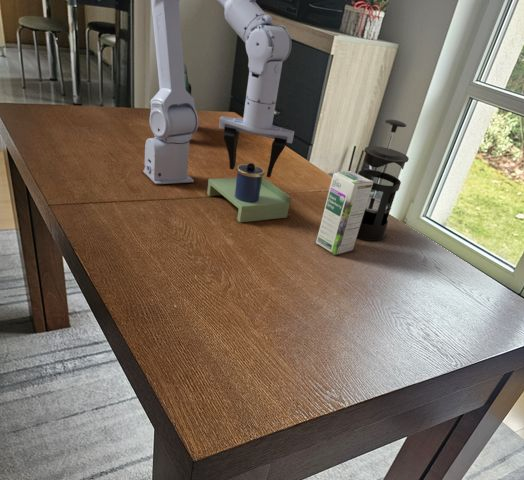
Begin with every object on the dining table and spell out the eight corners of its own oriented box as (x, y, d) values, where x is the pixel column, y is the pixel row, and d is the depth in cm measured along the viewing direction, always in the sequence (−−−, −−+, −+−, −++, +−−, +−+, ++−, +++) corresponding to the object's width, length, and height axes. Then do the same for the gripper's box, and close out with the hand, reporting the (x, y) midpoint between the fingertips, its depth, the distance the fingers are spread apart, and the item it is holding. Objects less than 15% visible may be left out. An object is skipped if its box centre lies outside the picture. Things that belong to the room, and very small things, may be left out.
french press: (393, 243, 109) (431, 131, 95) (354, 242, 106) (388, 127, 92) (369, 219, 117) (401, 114, 103) (332, 218, 114) (360, 109, 100)
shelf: (239, 222, 104) (242, 200, 102) (206, 194, 114) (208, 173, 111) (286, 217, 110) (291, 196, 108) (252, 191, 120) (255, 171, 117)
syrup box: (314, 243, 102) (331, 172, 93) (334, 238, 106) (352, 169, 97) (334, 255, 99) (354, 183, 90) (354, 250, 103) (375, 180, 94)
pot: (230, 199, 104) (234, 164, 100) (235, 190, 109) (240, 156, 105) (257, 205, 104) (263, 170, 100) (262, 195, 109) (267, 162, 104)
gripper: (300, 103, 98) (287, 173, 106) (227, 88, 98) (220, 158, 107) (296, 111, 92) (283, 183, 101) (219, 95, 93) (212, 168, 101)
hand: (250, 171), depth 103 cm, fingers open, 7 cm apart
